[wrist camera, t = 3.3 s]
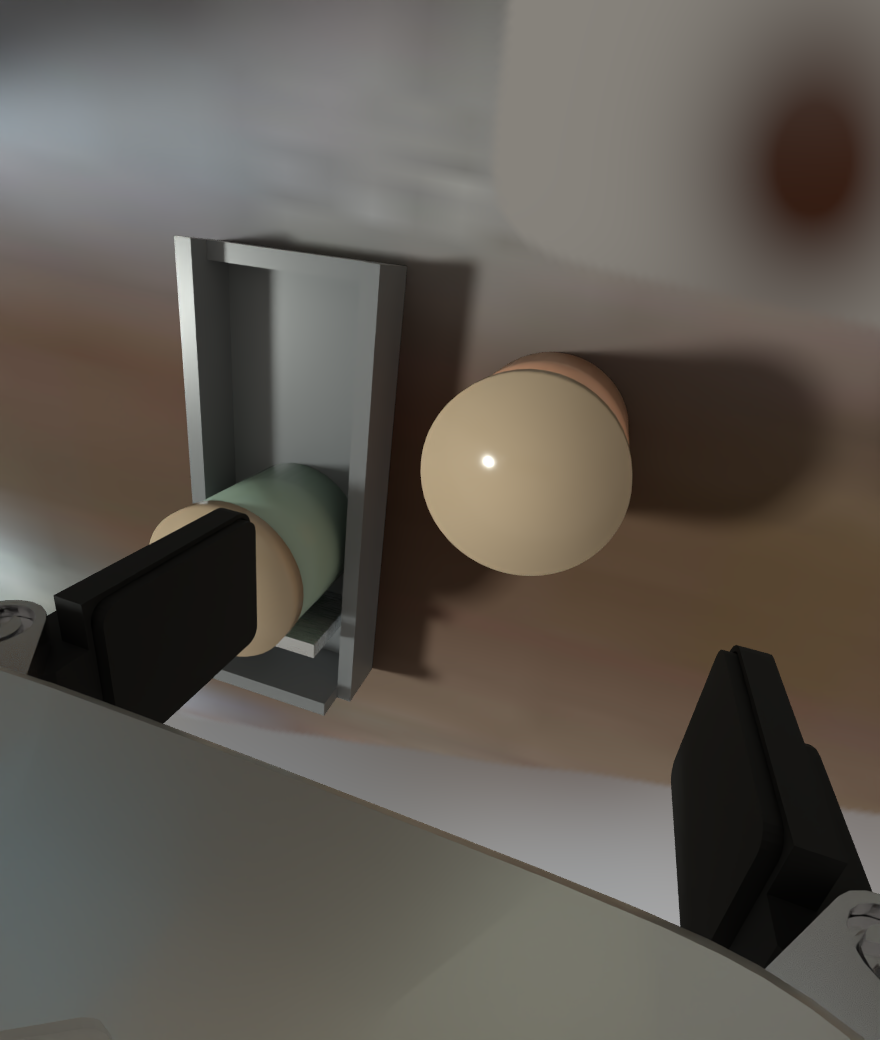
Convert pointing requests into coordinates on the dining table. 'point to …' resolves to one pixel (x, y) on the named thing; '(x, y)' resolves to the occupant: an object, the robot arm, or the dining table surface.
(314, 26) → the dining table surface
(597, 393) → the terracotta jar
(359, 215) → the dining table surface
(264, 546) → the sage jar
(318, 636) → the spring pusher
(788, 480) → the dining table surface
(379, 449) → the tray
